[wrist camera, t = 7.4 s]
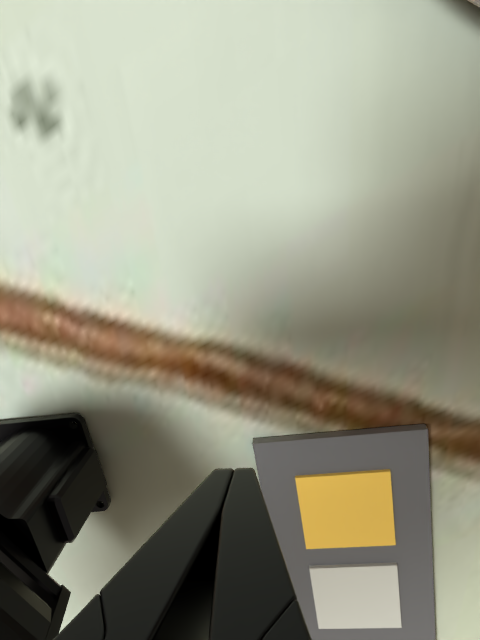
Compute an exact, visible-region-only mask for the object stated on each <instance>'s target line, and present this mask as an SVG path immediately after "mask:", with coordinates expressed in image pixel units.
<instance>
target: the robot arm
mask: <svg viewBox="0 0 480 640" xmlns="http://www.w3.org/2000/svg"><path fill="white" fill-rule="evenodd" d="M72 421H74V422H76V423H77V425H75V424H74V423H73V422H72ZM106 485H107V483H106V480H105V477H104V474H103V471H102V468H101V465H100V462H99V459H98V456H97V453H96V450H95V449H94V447H93V444H92V441H91V438H90V435H89V432H88V429H87V426H86V423H85V420H84V418H83V417H82V416H81V415H79V414H75V413H73V414H64V415H54V416H44V417H34V418H24V419H14V420H5V421H0V640H312V638H311V636H310V633H309V630H308V628H307V625H306V622H305V619H304V616H303V613H302V610H301V607H300V604H299V602H298V601H297V596H296V593H295V590H294V587H293V584H292V581H291V578H290V575H289V572H288V569H287V566H286V563H285V560H284V557H283V554H282V551H281V548H280V545H279V542H278V539H277V536H276V533H275V530H274V527H273V524H272V521H271V518H270V515H269V512H268V509H267V506H266V503H265V500H264V497H263V494H262V491H261V488H260V485H259V482H258V479H257V476H256V473H255V471H254V469H253V468H237V469H235V470H233V469H231V468H229V469H215V470H214V471H212V473H211V474H210V475H209V476H208V477H207V478H206V479H205V480H204V481H203V482H202V483H201V484H200V485H199V486H198V487H197V488H196V490H195V491H194V492H193V493H192V494H191V495H190V496H189V497H188V498H187V499H186V500H185V501H184V502H183V503H182V504H181V505H180V507H179V508H178V509H177V510H176V511H175V512H174V513H173V514H172V515H171V516H170V517H169V518H168V519H167V520H166V521H165V523H164V524H163V525H162V526H161V527H160V528H159V529H158V530H157V531H156V532H155V533H154V534H153V535H152V536H151V537H150V538H149V540H148V541H147V542H146V543H145V544H144V545H143V546H142V547H141V548H140V549H139V550H138V551H137V552H136V553H135V554H134V555H133V557H132V558H131V559H130V560H129V561H128V562H127V563H126V564H125V565H124V566H123V567H122V568H121V569H120V570H119V571H118V573H117V574H116V575H115V576H114V577H113V578H112V579H111V580H110V581H109V582H108V583H107V584H106V585H105V586H104V587H103V588H102V590H101V591H100V595H99V594H97V595H96V596H95V597H94V598H93V599H92V600H91V601H90V602H89V603H88V604H87V605H86V606H85V607H84V608H83V610H82V611H81V612H80V613H79V614H78V615H77V616H76V617H75V618H74V619H73V620H72V621H71V622H70V623H69V624H68V625H67V626H66V627H65V628H64V629H63V630H62V631H61V632H60V633H59V631H60V627H61V624H62V621H63V617H64V614H65V611H66V607H67V604H68V601H69V597H70V594H71V592H70V591H69V590H68V589H67V588H66V587H65V586H64V585H61V586H60V585H59V584H58V583H57V582H56V581H55V580H54V579H53V578H51V577H50V576H49V575H48V573H49V571H50V570H51V568H52V566H53V565H54V563H55V561H56V560H57V558H58V556H59V555H60V553H61V551H62V550H63V548H64V546H65V545H66V543H71V542H73V541H74V539H75V538H76V537H77V535H78V533H79V531H80V530H81V528H82V526H83V525H84V523H85V521H86V520H87V518H88V516H89V514H90V513H91V512H99V511H105V510H106V509H107V508H108V506H109V505H110V502H111V499H110V496H109V493H108V490H107V487H106ZM100 501H101V502H103V503H101V502H100Z"/></svg>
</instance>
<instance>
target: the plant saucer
mask: <svg viewBox="0 0 480 640" xmlns="http://www.w3.org/2000/svg"><path fill="white" fill-rule="evenodd" d="M467 1H469V2H471V3H473V4H474V5H476V6H478V7H479V8H480V0H467Z"/></svg>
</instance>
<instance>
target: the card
mask: <svg viewBox="0 0 480 640" xmlns="http://www.w3.org/2000/svg"><path fill="white" fill-rule="evenodd" d="M253 449H254V454H255V460H256V465H257V470H258V475H259V481H260V486H261V491H262V494H263V497H264V500H265V503H266V506H267V509H268V512H269V515H270V518H271V521H272V524H273V527H274V530H275V533H276V536H277V539H278V542H279V545H280V548H281V551H282V554H283V557H284V560H285V563H286V566H287V569H288V572H289V575H290V578H291V581H292V584H293V587H294V590H295V593H296V596H297V601H298V602H299V604H300V607H301V610H302V613H303V616H304V619H305V622H306V625H307V628H308V630H309V633H310V636H311V638H312V640H436V636H435V609H434V581H433V554H432V527H431V500H430V472H429V445H428V429H427V427H426V425H425V424H416V425H405V426H393V427H381V428H370V429H358V430H346V431H334V432H323V433H311V434H299V435H288V436H276V437H264V438H253Z"/></svg>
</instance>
